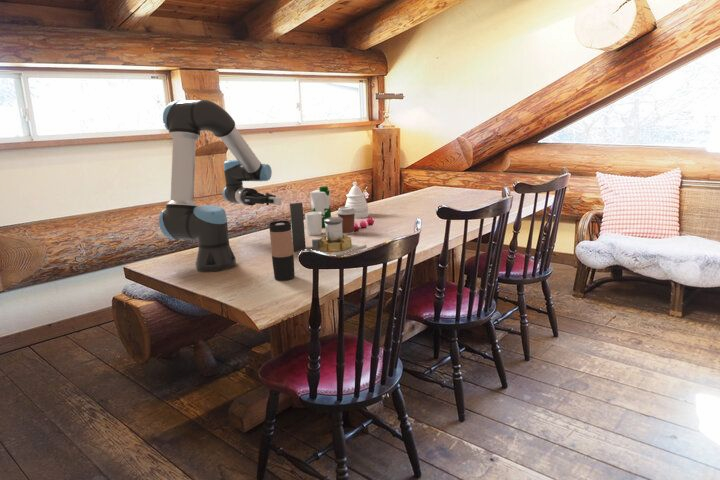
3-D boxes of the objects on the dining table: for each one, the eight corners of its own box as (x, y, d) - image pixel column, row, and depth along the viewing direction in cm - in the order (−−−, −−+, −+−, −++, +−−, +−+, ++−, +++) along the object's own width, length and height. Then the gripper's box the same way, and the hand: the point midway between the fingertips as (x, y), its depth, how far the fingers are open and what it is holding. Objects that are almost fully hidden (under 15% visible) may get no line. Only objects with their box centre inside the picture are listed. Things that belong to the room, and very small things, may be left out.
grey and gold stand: (318, 258, 207) (314, 207, 202) (291, 251, 219) (288, 203, 214) (358, 245, 223) (356, 198, 218) (331, 240, 234) (329, 195, 229)
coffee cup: (334, 234, 249) (333, 209, 246) (342, 230, 257) (340, 205, 254) (352, 235, 246) (351, 210, 243) (359, 230, 254) (358, 206, 251)
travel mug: (269, 280, 187) (264, 224, 182) (280, 273, 194) (275, 220, 189) (289, 281, 184) (284, 225, 179) (299, 275, 191) (294, 220, 186)
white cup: (320, 235, 248) (319, 214, 246) (304, 235, 250) (302, 214, 247) (324, 231, 256) (323, 211, 253) (309, 231, 257) (307, 211, 255)
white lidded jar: (334, 252, 218) (332, 221, 215) (322, 249, 223) (320, 219, 220) (347, 248, 223) (346, 218, 220) (335, 246, 228) (333, 216, 225)
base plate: (329, 258, 210) (329, 255, 210) (302, 251, 222) (302, 249, 222) (366, 246, 225) (365, 244, 225) (338, 241, 237) (338, 238, 236)
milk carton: (326, 228, 262) (324, 188, 257) (310, 227, 265) (307, 188, 260) (334, 224, 270) (331, 185, 265) (318, 224, 273) (315, 185, 268)
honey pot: (344, 214, 295) (342, 182, 290) (367, 212, 296) (365, 180, 291) (346, 219, 282) (344, 185, 278) (370, 217, 283) (368, 183, 279)
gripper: (260, 202, 242) (292, 207, 226) (235, 207, 233) (268, 213, 217) (258, 185, 240) (291, 190, 224) (234, 190, 231) (266, 195, 215)
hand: (279, 201), depth 221 cm, fingers closed
